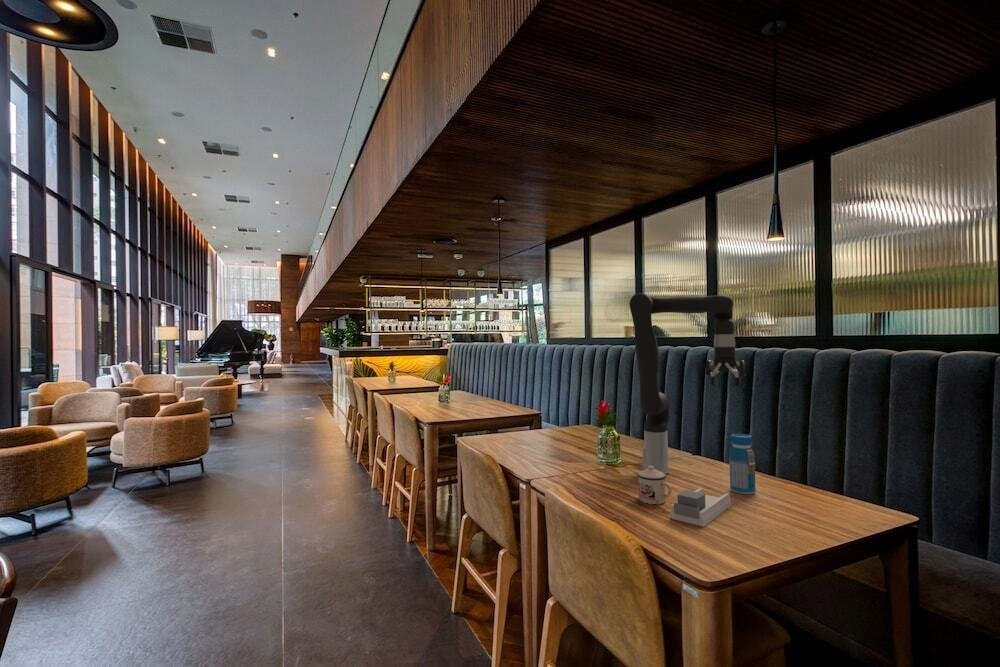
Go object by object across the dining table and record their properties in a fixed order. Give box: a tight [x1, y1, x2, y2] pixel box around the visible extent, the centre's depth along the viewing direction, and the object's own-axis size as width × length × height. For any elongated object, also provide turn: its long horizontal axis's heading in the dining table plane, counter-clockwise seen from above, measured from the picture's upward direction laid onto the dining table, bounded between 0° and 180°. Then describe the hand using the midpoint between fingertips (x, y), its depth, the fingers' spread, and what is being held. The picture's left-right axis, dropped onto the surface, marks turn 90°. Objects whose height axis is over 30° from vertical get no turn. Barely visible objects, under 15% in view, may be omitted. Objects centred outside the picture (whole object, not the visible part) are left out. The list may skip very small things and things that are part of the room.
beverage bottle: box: [728, 433, 757, 495], centre depth 164 cm, size 8×8×20 cm
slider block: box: [676, 489, 706, 512], centre depth 139 cm, size 6×6×5 cm
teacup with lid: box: [637, 466, 673, 505], centre depth 154 cm, size 12×9×12 cm
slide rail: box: [669, 487, 732, 528], centre depth 144 cm, size 10×24×5 cm, turn 135°
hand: (725, 386), depth 180 cm, fingers open, 8 cm apart
